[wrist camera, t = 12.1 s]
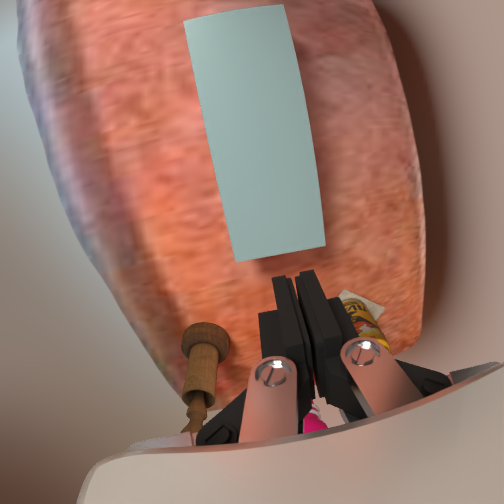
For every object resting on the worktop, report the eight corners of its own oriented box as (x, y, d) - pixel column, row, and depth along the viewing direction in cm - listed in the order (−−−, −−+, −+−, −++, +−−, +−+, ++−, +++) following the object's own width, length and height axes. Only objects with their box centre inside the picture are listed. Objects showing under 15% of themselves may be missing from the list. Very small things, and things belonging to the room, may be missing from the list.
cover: (185, 23, 20) (183, 21, 19) (282, 7, 19) (283, 4, 18) (235, 258, 29) (235, 262, 29) (323, 242, 29) (325, 245, 28)
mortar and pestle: (220, 317, 39) (211, 432, 22) (235, 350, 41) (234, 459, 25) (176, 327, 39) (149, 435, 23) (193, 358, 42) (178, 462, 25)
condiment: (342, 288, 38) (375, 347, 27) (385, 307, 39) (421, 362, 28) (314, 328, 40) (334, 392, 29) (357, 342, 42) (383, 400, 31)
